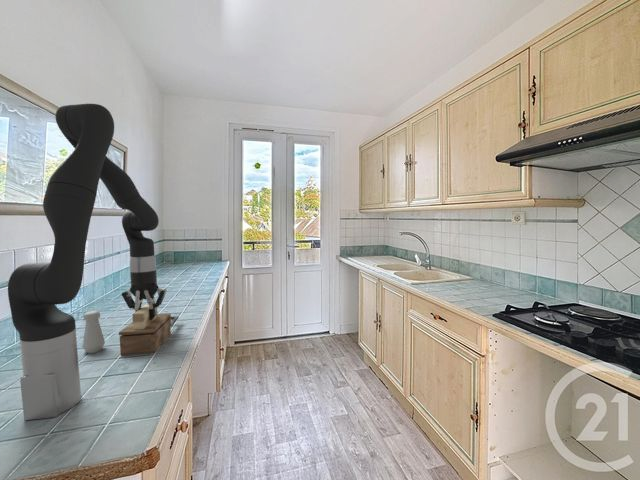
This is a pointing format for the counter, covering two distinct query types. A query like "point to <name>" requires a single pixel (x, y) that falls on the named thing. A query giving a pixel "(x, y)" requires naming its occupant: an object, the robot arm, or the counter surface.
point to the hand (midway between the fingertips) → (146, 319)
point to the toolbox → (145, 341)
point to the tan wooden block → (146, 322)
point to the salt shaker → (93, 333)
